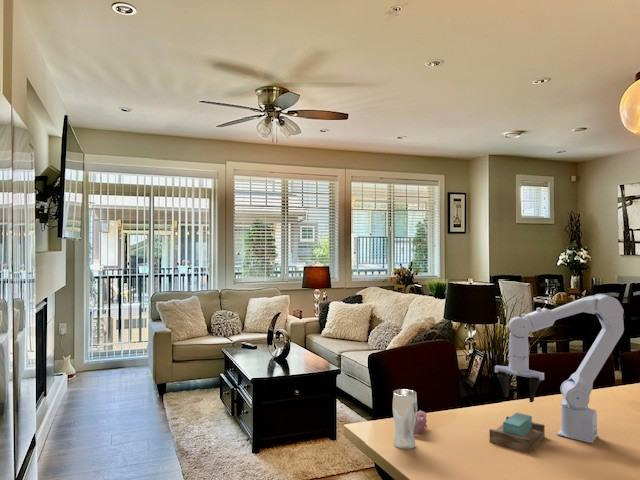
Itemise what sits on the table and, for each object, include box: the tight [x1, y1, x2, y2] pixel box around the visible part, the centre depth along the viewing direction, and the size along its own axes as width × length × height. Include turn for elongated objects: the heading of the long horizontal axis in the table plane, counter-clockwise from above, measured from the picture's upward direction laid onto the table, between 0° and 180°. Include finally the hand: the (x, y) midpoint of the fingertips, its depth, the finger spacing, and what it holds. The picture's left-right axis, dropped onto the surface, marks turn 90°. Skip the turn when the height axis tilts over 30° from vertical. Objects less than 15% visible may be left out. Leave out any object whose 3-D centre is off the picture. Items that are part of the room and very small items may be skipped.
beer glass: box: [392, 388, 418, 450], centre depth 135 cm, size 7×7×15 cm
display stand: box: [489, 416, 546, 453], centre depth 140 cm, size 11×15×4 cm
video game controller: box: [414, 410, 428, 436], centre depth 146 cm, size 10×5×7 cm, turn 169°
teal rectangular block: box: [502, 412, 533, 437], centre depth 140 cm, size 4×11×4 cm, turn 138°
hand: (518, 398), depth 148 cm, fingers open, 7 cm apart
